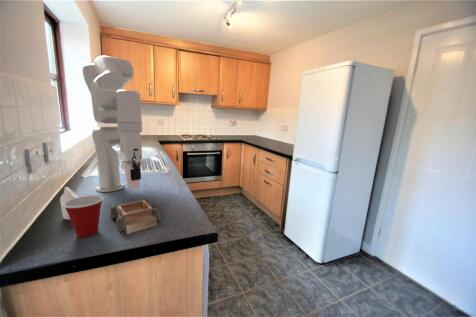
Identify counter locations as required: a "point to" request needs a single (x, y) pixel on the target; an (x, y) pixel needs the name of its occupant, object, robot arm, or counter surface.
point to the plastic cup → (84, 214)
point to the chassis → (134, 216)
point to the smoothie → (130, 183)
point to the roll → (65, 197)
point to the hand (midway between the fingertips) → (133, 177)
